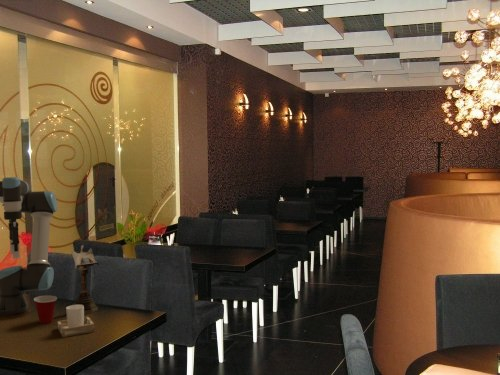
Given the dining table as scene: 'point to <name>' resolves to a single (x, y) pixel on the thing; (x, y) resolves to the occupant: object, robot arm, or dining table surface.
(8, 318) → the dining table surface
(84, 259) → the bird statue
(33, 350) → the dining table surface
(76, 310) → the white cup
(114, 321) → the dining table surface
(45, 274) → the robot arm
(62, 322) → the birch crate
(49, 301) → the plastic cup
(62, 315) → the dining table surface
